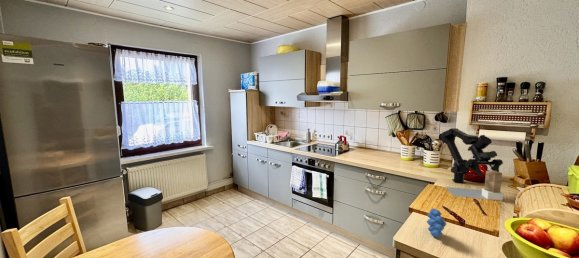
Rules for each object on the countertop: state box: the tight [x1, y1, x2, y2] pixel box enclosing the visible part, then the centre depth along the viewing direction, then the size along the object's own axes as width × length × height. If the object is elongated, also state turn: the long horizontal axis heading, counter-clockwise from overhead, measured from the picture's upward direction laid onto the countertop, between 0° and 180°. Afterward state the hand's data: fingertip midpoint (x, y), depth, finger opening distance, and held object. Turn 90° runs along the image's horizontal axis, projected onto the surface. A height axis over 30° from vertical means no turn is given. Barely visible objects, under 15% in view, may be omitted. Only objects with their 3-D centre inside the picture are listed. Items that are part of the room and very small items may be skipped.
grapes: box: [426, 208, 447, 238], centre depth 99 cm, size 12×7×12 cm, turn 169°
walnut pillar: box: [483, 169, 503, 193], centre depth 137 cm, size 5×5×11 cm
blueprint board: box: [444, 186, 504, 203], centre depth 145 cm, size 16×24×5 cm, turn 74°
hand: (490, 176), depth 139 cm, fingers open, 9 cm apart
